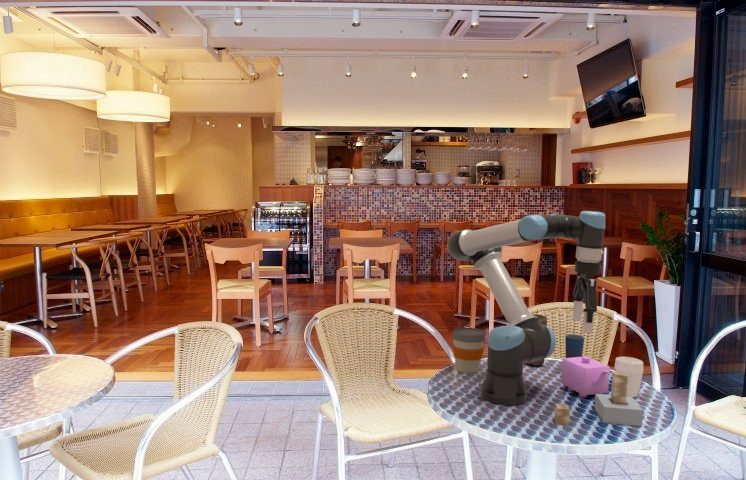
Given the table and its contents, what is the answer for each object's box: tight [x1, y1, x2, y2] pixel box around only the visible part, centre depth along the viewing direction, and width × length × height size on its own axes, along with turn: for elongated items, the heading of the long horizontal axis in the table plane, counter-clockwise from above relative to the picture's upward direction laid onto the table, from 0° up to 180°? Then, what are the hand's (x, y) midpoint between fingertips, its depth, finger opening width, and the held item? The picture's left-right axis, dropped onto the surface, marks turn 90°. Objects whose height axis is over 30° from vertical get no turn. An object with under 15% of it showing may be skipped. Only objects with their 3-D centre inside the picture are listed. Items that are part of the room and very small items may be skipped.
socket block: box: [594, 393, 644, 427], centre depth 168 cm, size 11×11×5 cm
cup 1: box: [564, 333, 585, 358], centre depth 207 cm, size 7×7×15 cm
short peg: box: [554, 403, 571, 426], centre depth 163 cm, size 4×4×5 cm
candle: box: [526, 314, 548, 367], centre depth 217 cm, size 8×7×20 cm
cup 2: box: [614, 356, 644, 398], centre depth 187 cm, size 9×9×12 cm
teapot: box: [560, 355, 611, 399], centre depth 187 cm, size 20×10×12 cm, turn 19°
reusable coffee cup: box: [451, 326, 486, 374], centre depth 210 cm, size 13×13×15 cm
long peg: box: [610, 370, 628, 405], centre depth 167 cm, size 4×4×14 cm
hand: (581, 326), depth 172 cm, fingers open, 13 cm apart
